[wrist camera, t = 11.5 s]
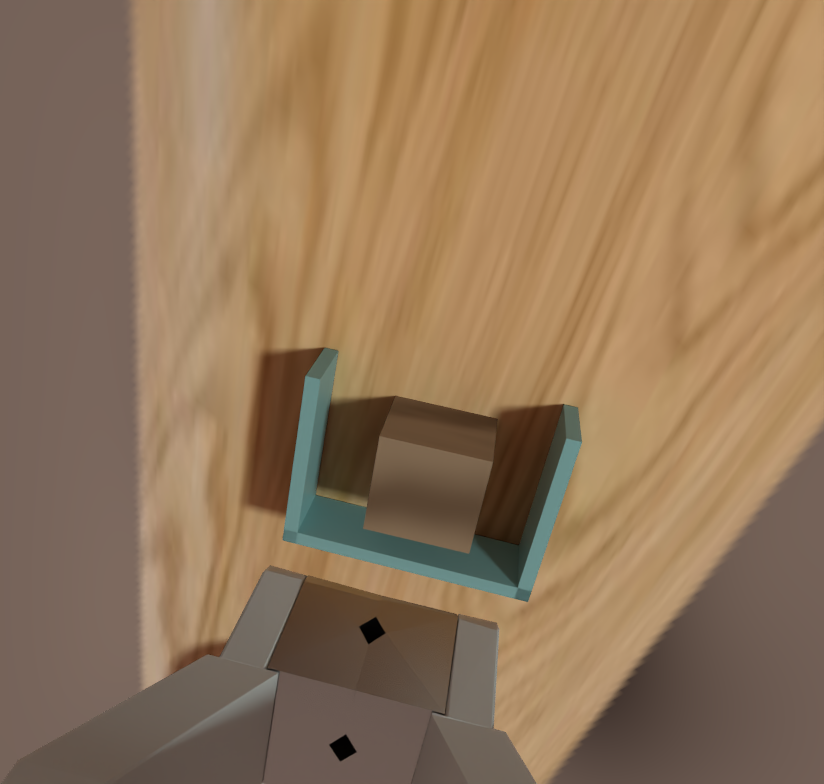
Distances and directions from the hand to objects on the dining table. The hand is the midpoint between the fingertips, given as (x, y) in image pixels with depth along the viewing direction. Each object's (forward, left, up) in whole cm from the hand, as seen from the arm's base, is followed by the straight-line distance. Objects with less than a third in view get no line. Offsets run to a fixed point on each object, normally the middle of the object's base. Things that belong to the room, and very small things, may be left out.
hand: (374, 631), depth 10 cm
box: (+16, 0, -31) cm, 35 cm away
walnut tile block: (+15, 0, -31) cm, 35 cm away
